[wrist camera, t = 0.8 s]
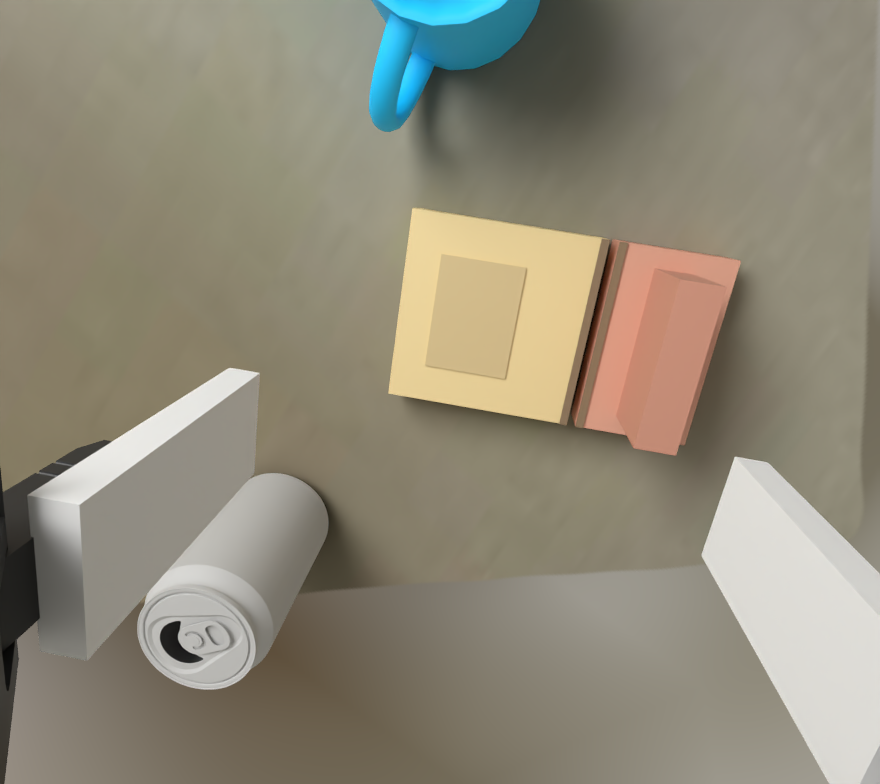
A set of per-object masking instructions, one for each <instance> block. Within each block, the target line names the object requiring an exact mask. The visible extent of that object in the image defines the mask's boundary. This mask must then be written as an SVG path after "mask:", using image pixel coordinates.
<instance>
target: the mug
mask: <svg viewBox="0 0 880 784" xmlns="http://www.w3.org/2000/svg"><path fill="white" fill-rule="evenodd" d="M372 2H373V3H374V5H375V6H376V8H377V9H378V11H379V13H380V14H381V16H382V17H383V19H384V20H385V22H386V23H387V25H386V28H385V31H384V34H383V38H382V42H381V45H380V49H379V53H378V56H377V60H376V64H375V68H374V74H373V79H372V84H371V89H370V102H369V112H370V115H371V118H372V121H373V123H374V125H375V126H376V127H377V128H378V129H380V130H382V131H385V132H390V131H394V130H396V129H399V128H400V127H401V126H402V125H403V123H404V122H405V121H406V120H407V118H408V117H409V115H410V114H411V112H412V110H413V108H414V107H415V105H416V103H417V101H418V100H419V98H420V96H421V94H422V92H423V90H424V87H425V85H426V83H427V81H428V79H429V77H430V75H431V72H432V70H433V68H434V66H436V67H440V68H443V69H447V70H463V69H475V68H478V67H480V66H482V65H485V64H487V63H489V62H492V61H494V60H496V59H499V58H500V57H501V56H502V55H504V54H505V53H506V52H507V51H508V50H509V49H510V48H511V47H513V46H514V45H515V44H516V43H517V42H518V41H519V40H520V39H521V38H522V36H523V35H524V33H525V31H526V30H527V28H528V27H529V25H530V23H531V22H532V20H533V18H534V17H535V15H536V13H537V9H538V6H539V2H540V0H372ZM410 53H412V55H411V57H410V60H409V62H408V59H409V56H410ZM407 62H408V64H407ZM406 66H407V67H406Z"/></svg>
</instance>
